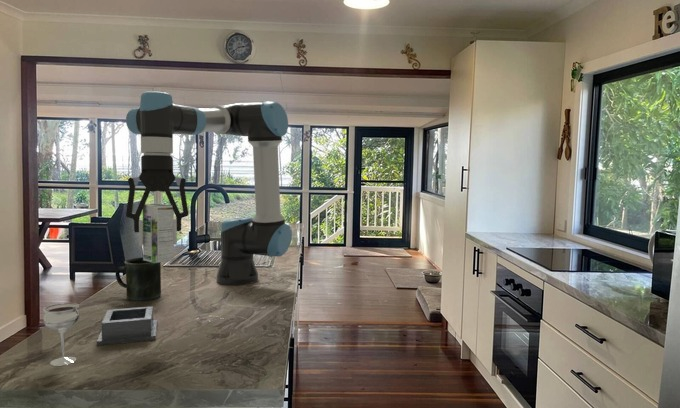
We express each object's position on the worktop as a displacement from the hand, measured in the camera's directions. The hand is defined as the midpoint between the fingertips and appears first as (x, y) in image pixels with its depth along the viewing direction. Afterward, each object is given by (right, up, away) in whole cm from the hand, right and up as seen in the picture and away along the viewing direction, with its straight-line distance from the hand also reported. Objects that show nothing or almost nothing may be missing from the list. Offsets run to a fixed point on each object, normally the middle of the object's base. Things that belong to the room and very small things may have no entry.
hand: (158, 244), depth 122 cm
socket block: (-7, -23, -1) cm, 24 cm away
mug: (-19, -20, +32) cm, 42 cm away
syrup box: (0, -4, 0) cm, 4 cm away
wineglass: (-14, -24, -18) cm, 33 cm away
